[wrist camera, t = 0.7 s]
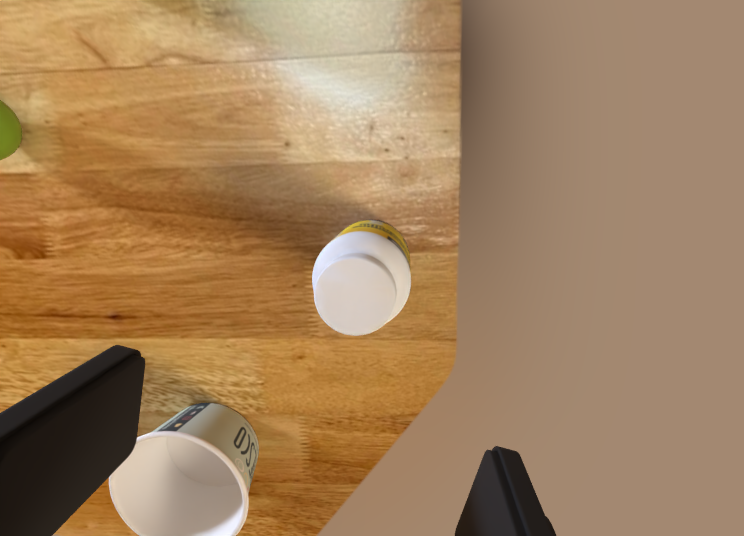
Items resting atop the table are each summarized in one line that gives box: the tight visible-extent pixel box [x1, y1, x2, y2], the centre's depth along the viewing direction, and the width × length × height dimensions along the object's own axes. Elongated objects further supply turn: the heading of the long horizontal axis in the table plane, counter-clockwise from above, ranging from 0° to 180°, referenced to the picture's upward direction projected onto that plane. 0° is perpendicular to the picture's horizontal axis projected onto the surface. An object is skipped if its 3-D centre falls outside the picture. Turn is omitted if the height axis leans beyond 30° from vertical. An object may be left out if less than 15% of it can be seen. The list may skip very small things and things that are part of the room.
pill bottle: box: [312, 220, 411, 336], centre depth 28 cm, size 6×6×12 cm
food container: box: [109, 403, 259, 536], centre depth 36 cm, size 12×12×6 cm
